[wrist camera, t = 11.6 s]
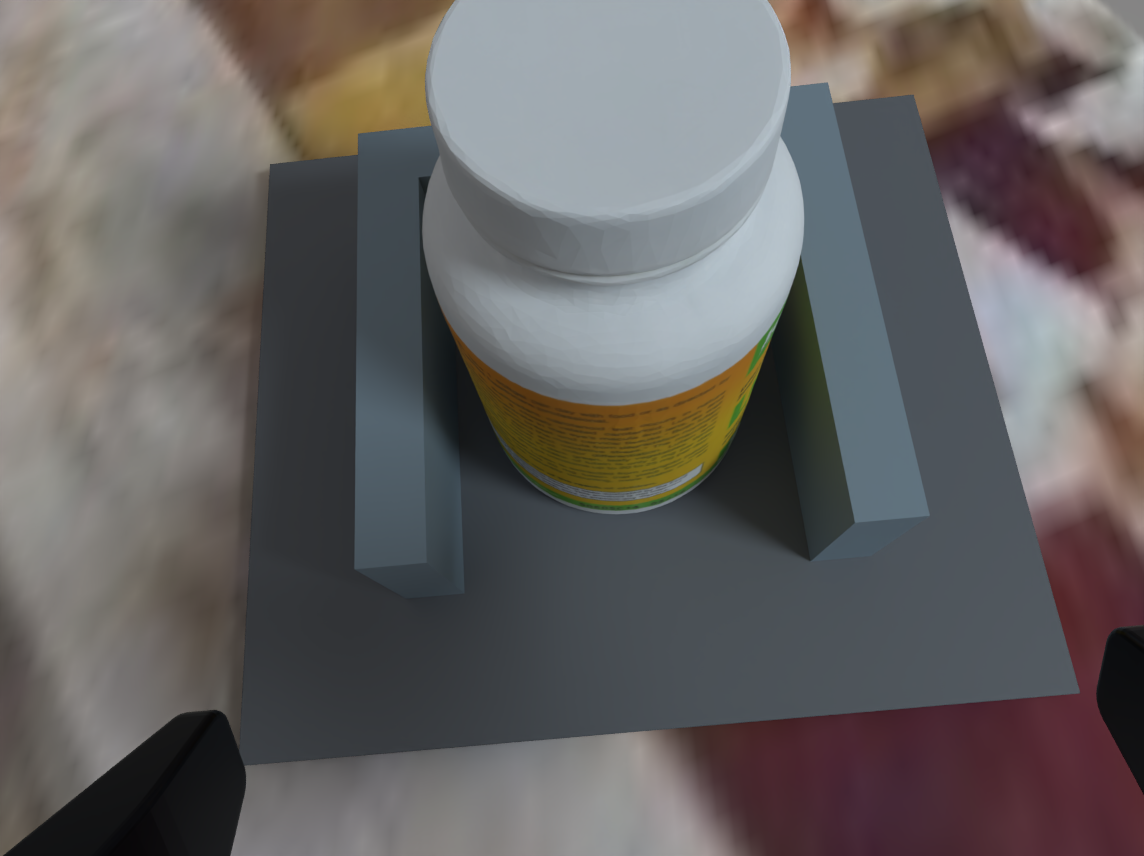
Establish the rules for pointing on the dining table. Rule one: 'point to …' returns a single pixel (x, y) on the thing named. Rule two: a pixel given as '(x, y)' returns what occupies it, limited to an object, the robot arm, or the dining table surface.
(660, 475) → the supplement bottle
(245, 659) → the notch holder
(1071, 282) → the dining table surface
